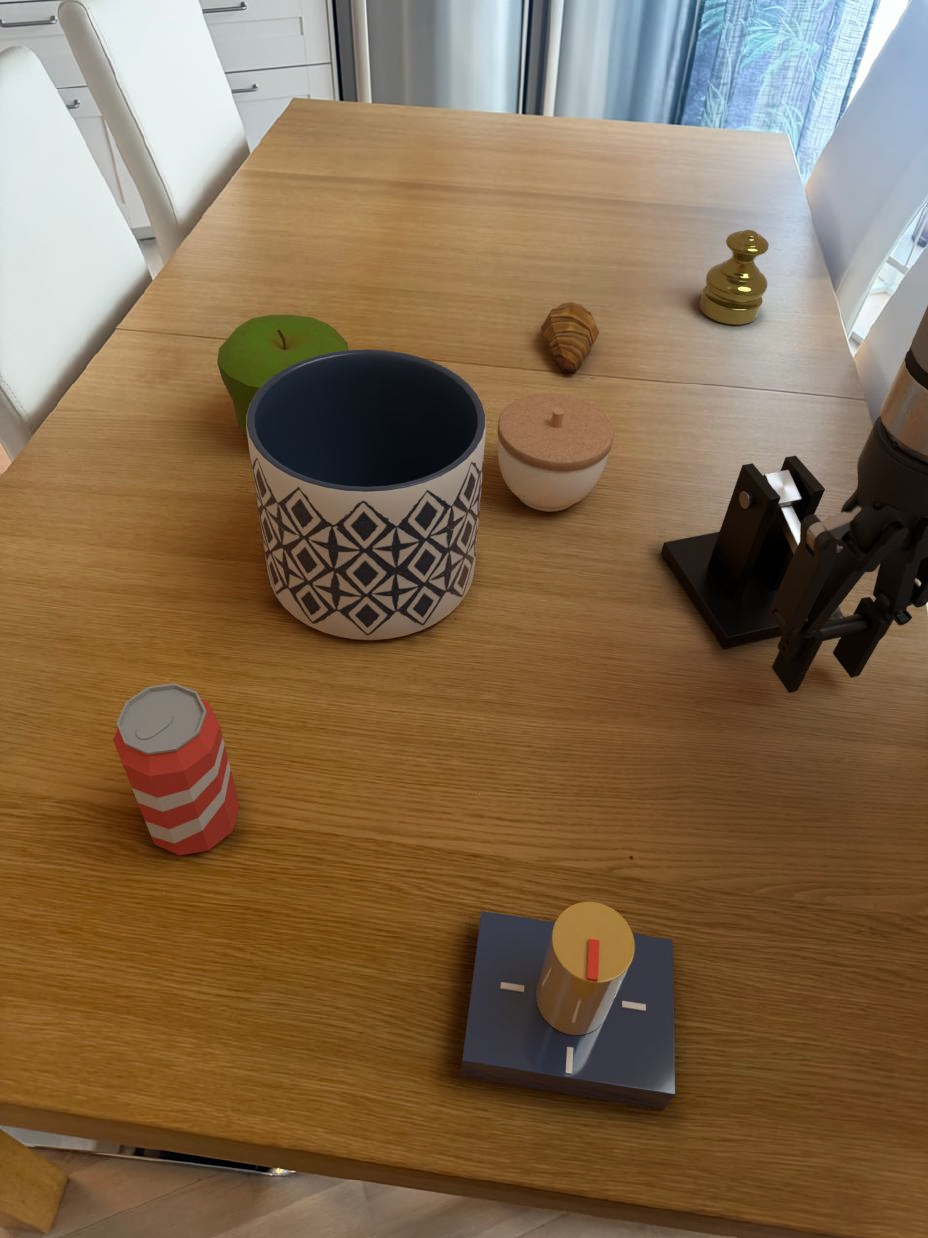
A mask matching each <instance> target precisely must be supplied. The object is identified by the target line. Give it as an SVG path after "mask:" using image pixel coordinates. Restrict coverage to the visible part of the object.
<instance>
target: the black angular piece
mask: <svg viewBox="0 0 928 1238" xmlns="http://www.w3.org/2000/svg"><path fill="white" fill-rule="evenodd" d="M784 470H789V472H790V474H791V476H792V479H793V481H794V483H795V485H796V487H797V489H798V491H799V494H800V496H801V498H802V500H801V501H800V502H799V503H798V504H797V505H796V506H795V507H794V511H795V513H796V515H797V517H798V519H799V521H800V524H801V522H802V521H803V519H804V518H806V517H807V516H809V515H812V514H813V515H816V512H817V509H818V507H819V505H820V502H821V501H822V497H823V495H824V493H825V491H826V488H825V486H823V484H821V482H820V481H819V480H818V479H817V478H816V477H815V475H814V474H813V473H812V472H811V471H810V470H809V468H808V467H806V465H805V463H803V462H802V460H801V459H800V458H799V457H798V456H797V455H790V456H786V457H784V460H783V463H782V465H781V468H780V470H779V471H784ZM780 498H781V497H780V496H779V495H778V493H777V492H776V491H775V490H774V488H773V487H772V486H771V485H770V484H769V482H768V481H767V480H766V479H765V478H764V474H762V472H760V470H759V469H758V467H756V465H755V464H754V463H747V464H746V463H745V464H742V465H741V467H740V470H739V473H738V476H737V479H736V482H735V485H734V489H733V492H732V494H731V496H730V500H729V503H728V506H727V509H726V512H725V514H724V517H723V520H722V522H721V526H720V529H719V531H715V532H710V533H706V534H705V533H704V534H699V535H695V536H690V537H685V538H679V539H674V540H669V541H665V542H663V544H662V548H661V551H660V556H661V557H662V559H663V560H664V562H665V563H666V564H667V567H669V570H670V571H671V573H672V574H673V575H674V577H675V578H676V580H677V581H678V583H679V585H680V586H681V588H682V589H683V591H684V592H685V594H686V595H687V596H688V598H689V600H690V601H691V602H692V605H693V606H694V607H695V609H696V610H697V612H698V613H699V615H700V617H701V619H703V621H704V622H705V624H706V626H707V627H708V628H709V630H710V632H711V634H712V635H713V636H714V638H715V640H716V642H717V643H718V644H719V646H720V647H721V648H722V649H723V650H725V649H729V648H734V647H738V646H741V645H742V646H743V645H748V644H752V643H756V642H760V641H764V640H769V639H773V638H778V637H782V635H783V632H782V630H781V629H780V627H779V626H778V625H777V623H776V622H775V621H774V619H773V618H772V616H771V615H770V614H769V609H770V607H771V605H772V602H773V600H774V598H775V596H776V593H777V591H778V589H779V587H780V585H781V582H782V580H783V578H784V576H785V573H786V571H787V569H788V567H789V564H790V562H791V560H792V558H793V556H794V554H793V552H792V549H791V547H790V545H789V543H788V541H787V538H786V536H785V534H784V532H783V530H782V527H781V525H780V523H779V521H778V519H777V516H775V517H773V516H774V514H775V511H776V509H777V506H778V503H779V501H780Z"/></svg>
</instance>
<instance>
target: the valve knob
mask: <svg viewBox="0 0 928 1238" xmlns="http://www.w3.org/2000/svg"><path fill="white" fill-rule="evenodd" d="M554 922H555V924H554V927H553V930H552V934H551V937H550V941H549V944H548V948H547V951H546V955H545V958H544V962H543V965H542V969H541V972H540V976H539V979H538V983H537V987H536V1001H537V1005H538V1008H539V1010H540V1012H541V1014H542V1016H543V1017H544V1019H545V1020H546V1021H547V1022H548V1023H549V1024H550V1025H551V1026H552V1027H554V1028H555V1029H557V1030H559V1031H561V1032H563V1033H566V1034H570V1035H583V1034H587V1033H590V1032H592V1031H594V1030H595V1029H597V1028H598V1027H599V1026H600V1025H601V1024H602V1023H603V1022H604V1020H605V1019H606V1017H607V1015H608V1013H609V1010H610V1008H611V1006H612V1004H613V1002H614V1000H615V997H616V995H617V993H618V991H619V989H620V987H621V984H622V982H623V980H624V978H625V976H626V974H627V971H628V969H629V967H630V965H631V963H632V960H633V957H634V953H635V942H634V937H633V934H634V933H633V931H632V929H631V927H630V925H629V923H628V922H627V920H626V919H625V918H624V916H622V915H621V914H620V913H619V912H618V911H617V910H616V909H614V908H612V907H610V906H608V905H606V904H604V903H601V902H595V901H583V902H577V903H574V904H572V905H570V906H568V907H567V908H565V909H564V910H563V911H562V912H561V913H560V914H559V915H558V916H557V918H556V920H555V921H554Z"/></svg>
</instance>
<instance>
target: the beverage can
mask: <svg viewBox="0 0 928 1238" xmlns="http://www.w3.org/2000/svg"><path fill="white" fill-rule="evenodd" d="M116 725H117V728H116V729H117V730H116V731H115V734H114V736H113V737H112V738H113V739H112V741H113V744H114V747H115V749H116V752H117V754H118V757H119V759H120V762H121V765H122V767H123V769H124V772H125V774H126V777H127V779H128V782H129V785H130V787H131V789H132V792H133V795H134V797H135V799H136V802H137V805H138V807H139V809H140V812H141V815H142V817H143V819H144V822H145V824H146V827H147V829H148V832H149V834H150V837H151V839H152V842H153V844H154V845H156V846H158V847H160V848H162V849H164V850H166V851H168V852H171V853H172V854H175V855H177V856H184V855H189V854H196V853H203V852H207V851H210V850H211V849H213V848H214V847H215V846H216V845H217V844H219V843H221V841H223V840H224V839H225V838H226V837H228V836H229V835H230V834H231V833H232V832H233V830H234V827H235V825H236V820H237V817H238V814H239V810H240V808H241V805H240V802H239V797H238V793H237V789H236V785H235V780H234V776H233V773H232V769H231V768H232V767H231V764H230V760H229V756H228V752H227V749H226V744H225V741H224V740H225V739H224V737H223V733H222V728H221V724H220V722H219V720H218V718H217V716H216V715H215V712H214V711H213V708H212V707H211V704H210V702H208V701H207V700H204V699H202V698H201V696H200V694H199V693H198V691H196V690H193V689H191V688H188V687H186V686H183V685H181V684H179V683H177V682H173V683H172V682H171V683H167V684H158V685H150V686H147V687H145V688H144V689H142V690H141V691H140V692H138V693H137V694H135V695H134V696H132V697H131V698H129V699H127V700H126V701H125V703H124V705H123V707H122V709H121V712H120V714H119V716H118V719H117V721H116Z"/></svg>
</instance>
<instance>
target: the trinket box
mask: <svg viewBox="0 0 928 1238" xmlns="http://www.w3.org/2000/svg"><path fill="white" fill-rule="evenodd" d="M496 432H497V444H496V445H497V447H496V448H497V449H496V451H497V452H496V453H497V461H498V467H499V472H500V473H501V476H502V479H503V481H504V483H505V484H506V487H508V489H509V490H510V491H511V493H512V494H514V495H515V496H516V497H517V498H518V499H519V500H520V502H522V503H523V504H524V505H526V506H527V507H529V508H532V509H533V510H536V511H542V512H550V513H551V512H559V511H563V510H566V509H569V508H570V507H571V506H573V505H575V504H577V503H579V502H580V501H583V500H584V499H585V498H587V496H589V495H590V494H591V493H592V492H593V490H594V489H595V488H596V486H597V485H598V484H599V482H600V480H601V478H602V476H603V474H604V472H605V469H606V468H607V463H608V461H609V456H610V451H611V449H612V447H613V443H614V439H615V430H614V426H613V423H612V421H611V420H610V418H609V416H607V414H606V412H604V411H603V410H601V408H599V407H598V406H596V405H595V404H593V403H591V402H589V401H587V400H584V399H583V398H580V397H576V396H572V395H569V394H563V393H553V392H551V393H549V392H544V393H534V394H530V395H526V396H523V397H520V398H518V399H515V400H514V401H512V402H511V403H509V404H508V405H507V406H506V407H505V408H504V409H503V410H502V411H501V412H500V415H499V417H498V419H497V431H496Z"/></svg>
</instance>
